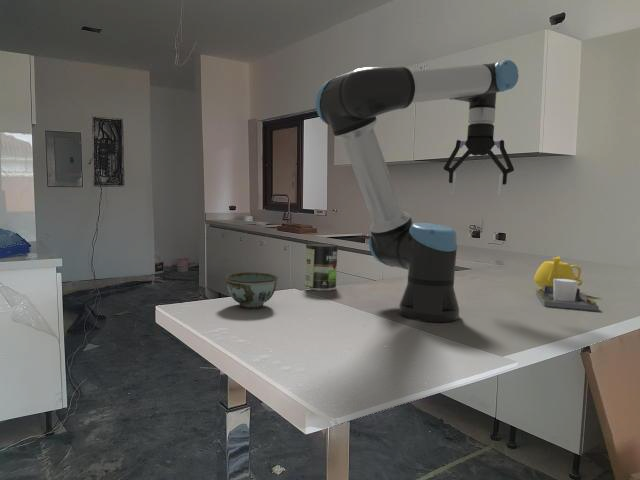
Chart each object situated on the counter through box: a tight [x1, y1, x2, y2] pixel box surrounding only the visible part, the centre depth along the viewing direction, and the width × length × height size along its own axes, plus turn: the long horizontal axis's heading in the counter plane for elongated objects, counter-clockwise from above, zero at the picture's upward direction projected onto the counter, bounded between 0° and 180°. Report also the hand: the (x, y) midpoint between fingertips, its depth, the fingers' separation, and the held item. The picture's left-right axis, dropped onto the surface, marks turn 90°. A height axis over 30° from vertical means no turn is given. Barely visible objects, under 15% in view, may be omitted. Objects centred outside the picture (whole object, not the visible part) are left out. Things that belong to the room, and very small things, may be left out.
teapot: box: [533, 255, 583, 291], centre depth 165 cm, size 20×15×12 cm
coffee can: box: [304, 242, 339, 292], centre depth 156 cm, size 10×10×14 cm
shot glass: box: [553, 278, 579, 301], centre depth 147 cm, size 7×7×7 cm
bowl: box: [225, 271, 279, 310], centre depth 127 cm, size 14×13×8 cm
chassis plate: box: [535, 285, 600, 312], centre depth 147 cm, size 18×14×4 cm
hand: (476, 195), depth 148 cm, fingers open, 13 cm apart
